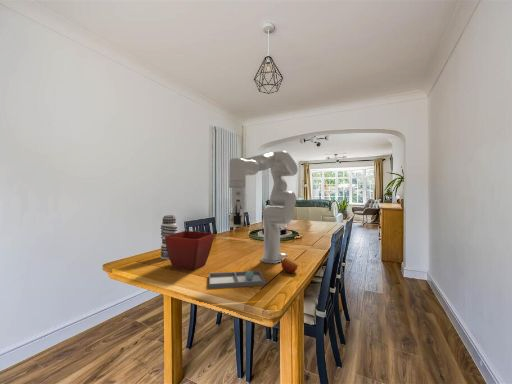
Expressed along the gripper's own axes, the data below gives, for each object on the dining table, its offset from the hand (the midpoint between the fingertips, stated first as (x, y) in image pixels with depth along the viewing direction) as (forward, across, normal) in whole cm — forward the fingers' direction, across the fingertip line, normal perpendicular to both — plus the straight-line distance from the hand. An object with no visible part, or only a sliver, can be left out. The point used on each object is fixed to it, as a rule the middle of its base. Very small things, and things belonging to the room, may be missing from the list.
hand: (236, 223), depth 108 cm
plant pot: (+26, +20, +22) cm, 39 cm away
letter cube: (+1, 0, 0) cm, 1 cm away
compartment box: (+25, -5, 0) cm, 26 cm away
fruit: (+26, +4, -28) cm, 38 cm away
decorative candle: (+26, +38, +36) cm, 58 cm away
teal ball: (+25, -5, -6) cm, 26 cm away
